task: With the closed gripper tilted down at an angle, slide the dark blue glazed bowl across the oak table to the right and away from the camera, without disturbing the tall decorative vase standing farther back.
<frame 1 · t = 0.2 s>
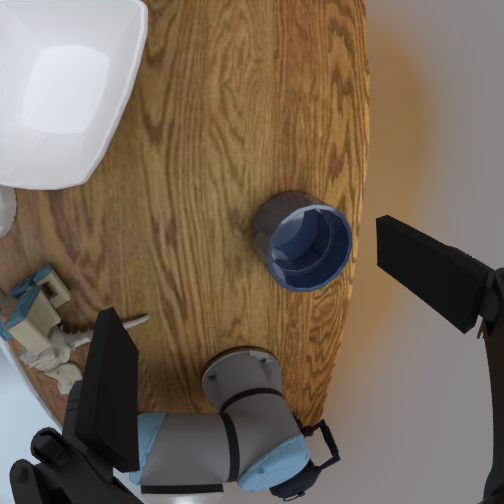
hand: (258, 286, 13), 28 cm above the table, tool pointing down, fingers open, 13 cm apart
fossil: (70, 380, 45), on the table
seashell: (81, 329, 42), on the table
wooden block: (52, 331, 34), point 6 cm above the table, touching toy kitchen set
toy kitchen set: (28, 339, 32), point 7 cm above the table, touching wooden block
glazed bowl: (289, 229, 45), on the table
bowl: (65, 89, 28), on the table, touching cosmetic box
dark blue bag: (258, 474, 55), point 11 cm above the table
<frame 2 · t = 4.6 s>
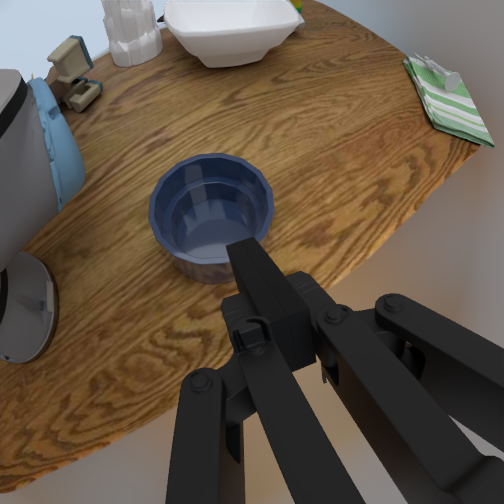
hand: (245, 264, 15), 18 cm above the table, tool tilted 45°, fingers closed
decorative egg: (283, 18, 55), on the table, touching cosmetic box
wooden block: (55, 91, 36), point 6 cm above the table, touching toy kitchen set
decorative vase: (138, 53, 49), on the table
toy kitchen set: (46, 82, 36), point 7 cm above the table, touching wooden block
dish towel: (446, 101, 48), on the table, touching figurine
glazed bowl: (215, 235, 35), on the table
cosmetic box: (293, 30, 49), point 2 cm above the table, touching bowl, decorative egg
bowl: (228, 54, 48), on the table, touching cosmetic box
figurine: (453, 82, 44), point 5 cm above the table, touching dish towel
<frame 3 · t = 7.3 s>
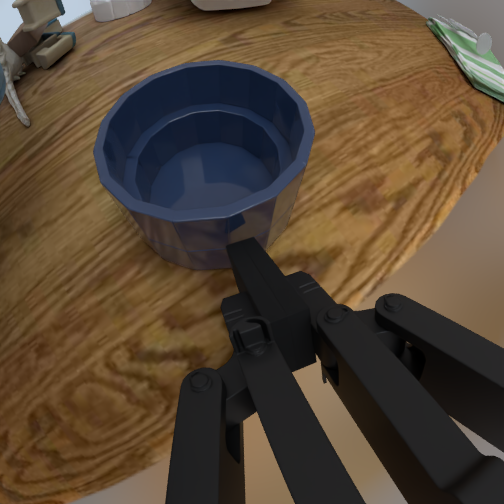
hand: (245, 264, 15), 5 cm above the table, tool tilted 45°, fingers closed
seashell: (13, 95, 28), on the table
wooden block: (21, 43, 23), point 6 cm above the table, touching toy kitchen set
decorative vase: (123, 9, 36), on the table
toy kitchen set: (12, 38, 23), point 7 cm above the table, touching wooden block
dish towel: (477, 65, 35), on the table, touching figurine
glazed bowl: (211, 194, 22), on the table, touching gripper
bowl: (229, 2, 35), on the table, touching cosmetic box
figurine: (485, 44, 30), point 5 cm above the table, touching dish towel
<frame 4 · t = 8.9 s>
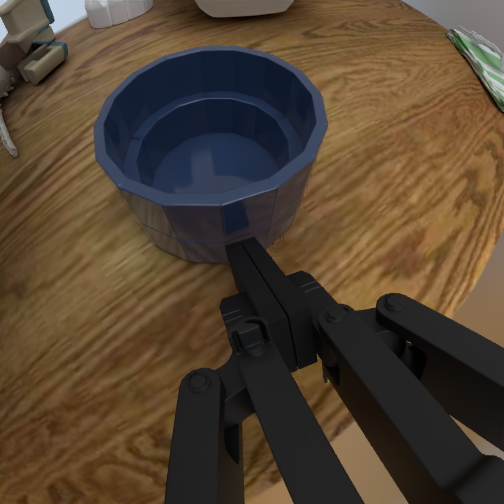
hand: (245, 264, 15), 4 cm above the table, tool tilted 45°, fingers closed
seashell: (1, 115, 25), on the table, touching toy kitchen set, wooden block
wooden block: (8, 56, 20), point 6 cm above the table, touching seashell, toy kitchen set
decorative vase: (121, 13, 33), on the table
dish towel: (500, 82, 32), on the table, touching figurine
glazed bowl: (216, 185, 21), on the table, touching gripper
bowl: (240, 7, 32), on the table, touching cosmetic box
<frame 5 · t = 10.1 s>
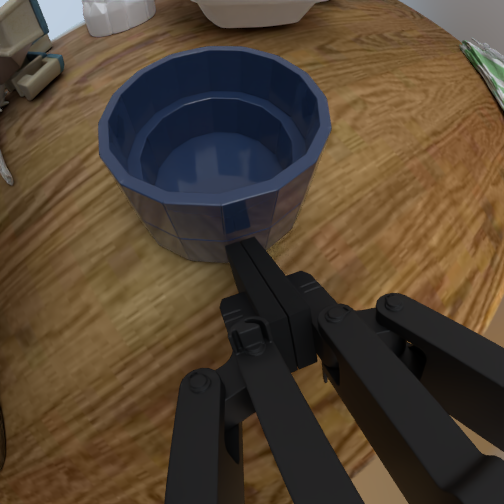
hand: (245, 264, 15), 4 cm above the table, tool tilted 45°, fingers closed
wooden block: (1, 69, 19), point 6 cm above the table, touching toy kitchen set
decorative vase: (122, 20, 32), on the table
glazed bowl: (219, 185, 21), on the table, touching gripper
bowl: (249, 16, 31), on the table, touching cosmetic box
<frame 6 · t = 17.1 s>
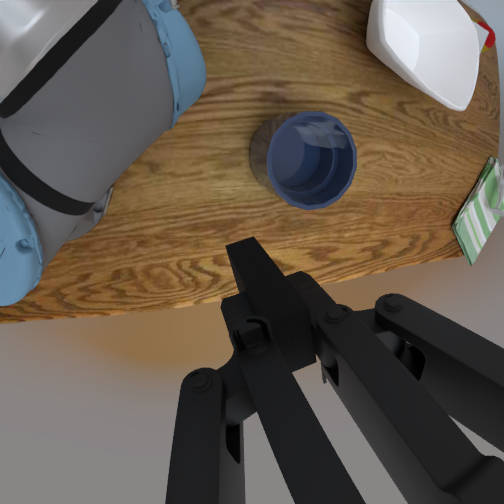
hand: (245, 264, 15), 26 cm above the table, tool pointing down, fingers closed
decorative egg: (458, 36, 38), on the table, touching cosmetic box
dish towel: (480, 210, 58), on the table, touching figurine
glazed bowl: (289, 154, 41), on the table
cosmetic box: (453, 69, 39), point 2 cm above the table, touching bowl, decorative egg
bowl: (390, 41, 37), on the table, touching cosmetic box
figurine: (497, 213, 53), point 5 cm above the table, touching dish towel
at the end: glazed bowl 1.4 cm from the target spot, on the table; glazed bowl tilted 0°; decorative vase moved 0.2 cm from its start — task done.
